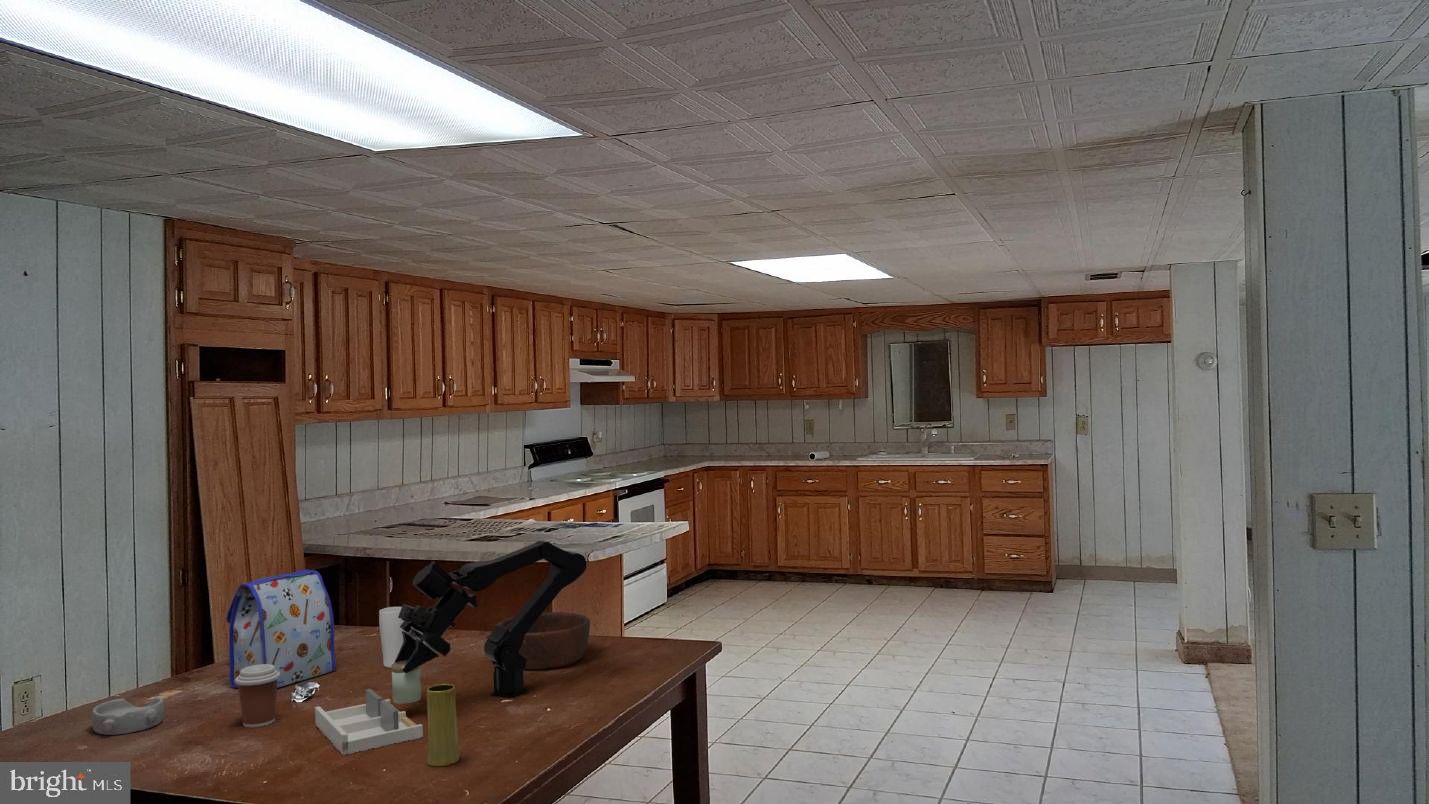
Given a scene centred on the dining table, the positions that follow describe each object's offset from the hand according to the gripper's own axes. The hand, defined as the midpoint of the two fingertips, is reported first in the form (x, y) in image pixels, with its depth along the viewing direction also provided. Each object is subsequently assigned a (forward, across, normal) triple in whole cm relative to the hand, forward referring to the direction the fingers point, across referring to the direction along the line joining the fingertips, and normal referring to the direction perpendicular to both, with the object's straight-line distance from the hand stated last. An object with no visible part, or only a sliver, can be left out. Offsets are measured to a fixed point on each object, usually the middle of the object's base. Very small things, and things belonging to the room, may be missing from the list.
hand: (399, 669), depth 216 cm
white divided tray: (+14, +6, +1) cm, 15 cm away
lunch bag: (+18, -50, -3) cm, 53 cm away
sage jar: (+4, 0, +6) cm, 7 cm away
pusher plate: (+11, 0, +3) cm, 11 cm away
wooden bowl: (-24, -22, +40) cm, 51 cm away
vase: (+9, +33, +6) cm, 35 cm away
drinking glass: (0, -44, +16) cm, 46 cm away
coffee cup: (+26, -17, -11) cm, 33 cm away
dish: (+43, -33, -28) cm, 61 cm away
